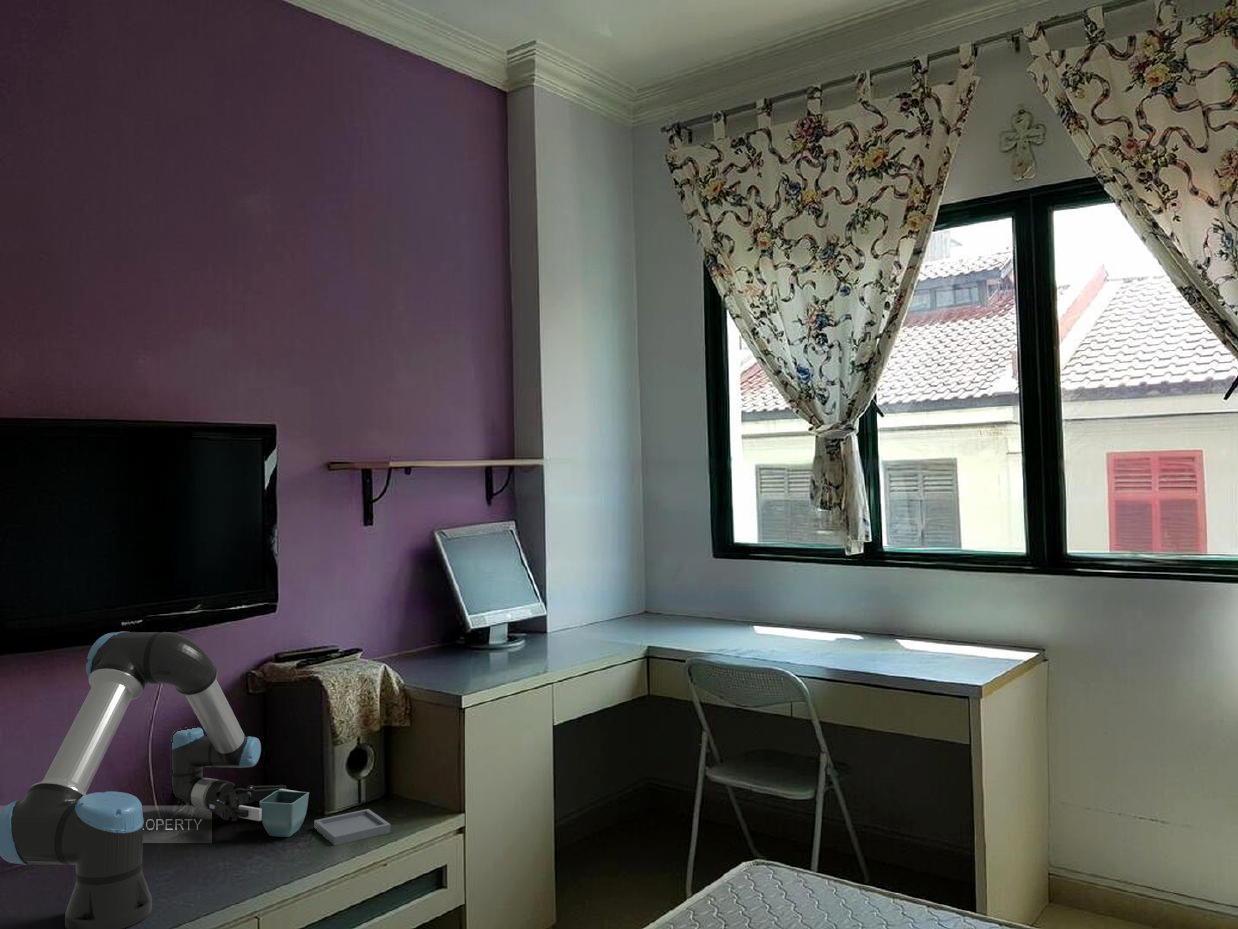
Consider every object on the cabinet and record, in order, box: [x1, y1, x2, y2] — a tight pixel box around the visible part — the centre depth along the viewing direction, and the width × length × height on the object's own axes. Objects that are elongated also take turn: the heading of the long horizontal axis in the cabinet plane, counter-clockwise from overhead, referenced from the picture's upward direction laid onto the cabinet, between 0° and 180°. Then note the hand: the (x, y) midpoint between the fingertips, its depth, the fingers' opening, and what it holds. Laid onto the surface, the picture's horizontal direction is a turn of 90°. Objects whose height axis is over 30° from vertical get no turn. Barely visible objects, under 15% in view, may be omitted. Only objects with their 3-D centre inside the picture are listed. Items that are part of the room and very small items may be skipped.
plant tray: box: [313, 808, 392, 846], centre depth 237 cm, size 14×14×2 cm
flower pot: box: [258, 790, 310, 838], centre depth 235 cm, size 9×9×9 cm
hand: (281, 806), depth 236 cm, fingers open, 13 cm apart
